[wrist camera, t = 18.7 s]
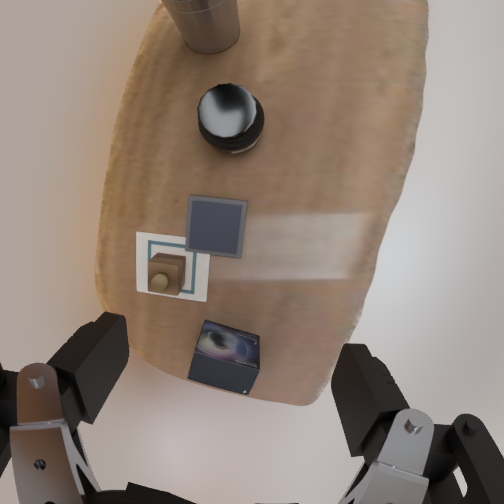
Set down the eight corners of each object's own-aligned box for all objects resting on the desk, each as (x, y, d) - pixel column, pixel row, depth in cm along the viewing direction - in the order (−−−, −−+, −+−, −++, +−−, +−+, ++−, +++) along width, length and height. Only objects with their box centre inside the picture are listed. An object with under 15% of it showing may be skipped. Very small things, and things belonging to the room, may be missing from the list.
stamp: (157, 252, 46) (142, 265, 39) (186, 256, 46) (175, 270, 40) (157, 279, 47) (143, 296, 41) (184, 283, 48) (174, 301, 41)
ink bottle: (248, 164, 42) (245, 162, 31) (195, 144, 41) (175, 135, 30) (273, 109, 40) (279, 88, 28) (221, 89, 39) (209, 63, 27)
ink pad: (190, 194, 44) (188, 195, 42) (247, 200, 44) (247, 201, 42) (186, 249, 46) (184, 252, 44) (240, 256, 46) (240, 259, 45)
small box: (261, 333, 50) (262, 370, 40) (250, 360, 52) (249, 397, 42) (205, 317, 50) (194, 351, 40) (197, 345, 51) (186, 380, 41)
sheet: (137, 231, 45) (136, 231, 45) (211, 240, 46) (211, 240, 45) (137, 290, 48) (136, 291, 48) (206, 301, 49) (206, 302, 48)
